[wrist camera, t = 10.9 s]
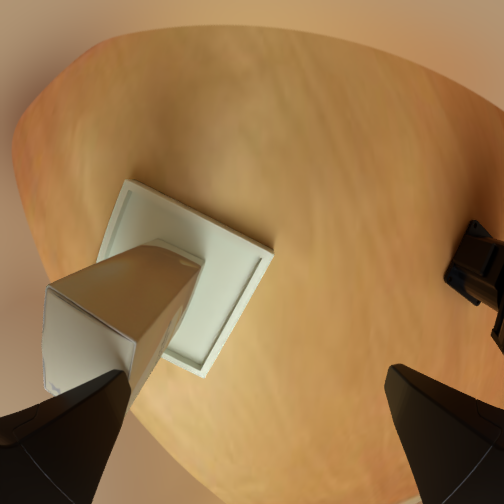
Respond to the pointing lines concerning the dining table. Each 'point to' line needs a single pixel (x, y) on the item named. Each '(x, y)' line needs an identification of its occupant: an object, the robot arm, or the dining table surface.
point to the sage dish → (213, 275)
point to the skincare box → (116, 315)
